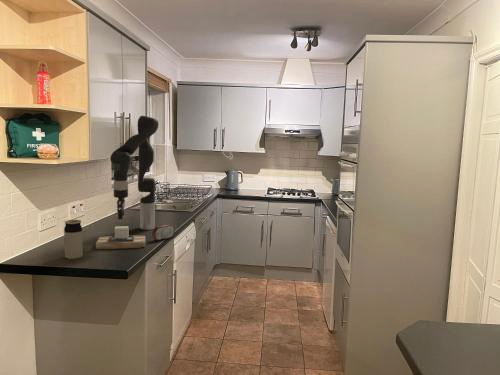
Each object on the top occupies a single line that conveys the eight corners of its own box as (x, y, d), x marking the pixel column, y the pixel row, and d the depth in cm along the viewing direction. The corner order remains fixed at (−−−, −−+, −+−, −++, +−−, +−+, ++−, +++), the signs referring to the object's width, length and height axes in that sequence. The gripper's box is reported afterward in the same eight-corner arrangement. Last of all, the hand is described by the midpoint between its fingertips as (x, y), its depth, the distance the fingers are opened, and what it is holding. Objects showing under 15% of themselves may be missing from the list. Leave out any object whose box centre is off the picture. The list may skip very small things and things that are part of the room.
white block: (115, 238, 219) (115, 226, 218) (128, 237, 220) (128, 226, 220) (114, 240, 214) (114, 228, 213) (128, 240, 216) (128, 228, 215)
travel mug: (85, 254, 197) (84, 219, 195) (78, 259, 190) (77, 223, 187) (69, 254, 197) (68, 219, 195) (62, 259, 189) (61, 222, 187)
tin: (172, 236, 239) (172, 222, 238) (175, 237, 237) (175, 223, 236) (151, 240, 228) (151, 226, 227) (155, 241, 226) (155, 227, 225)
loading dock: (99, 241, 222) (99, 234, 221) (145, 240, 228) (145, 233, 227) (95, 249, 207) (95, 241, 207) (144, 247, 213) (144, 240, 213)
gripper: (115, 186, 220) (115, 214, 222) (112, 190, 206) (112, 220, 208) (129, 186, 221) (129, 214, 223) (127, 190, 207) (127, 220, 210)
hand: (121, 217), depth 216 cm, fingers open, 8 cm apart
